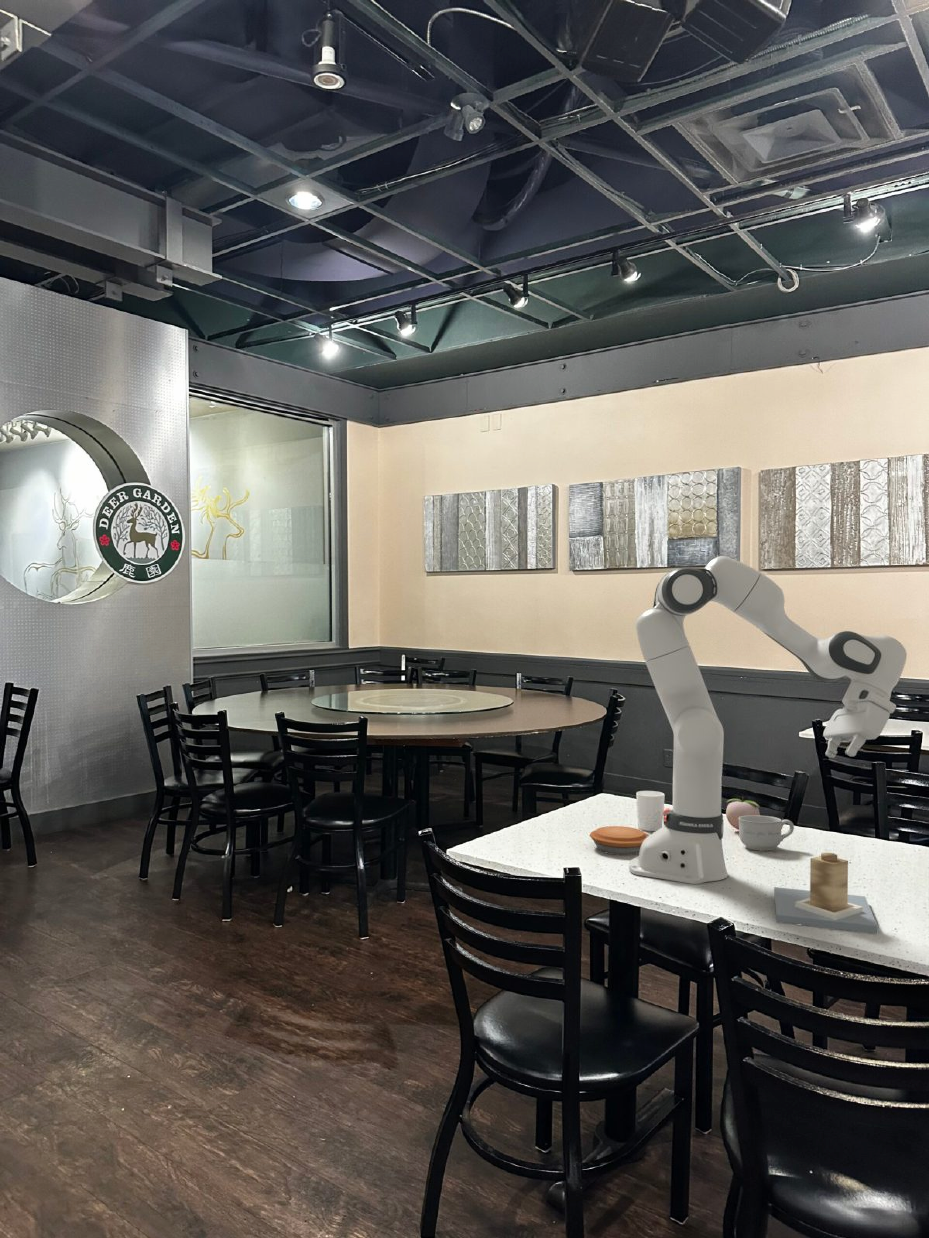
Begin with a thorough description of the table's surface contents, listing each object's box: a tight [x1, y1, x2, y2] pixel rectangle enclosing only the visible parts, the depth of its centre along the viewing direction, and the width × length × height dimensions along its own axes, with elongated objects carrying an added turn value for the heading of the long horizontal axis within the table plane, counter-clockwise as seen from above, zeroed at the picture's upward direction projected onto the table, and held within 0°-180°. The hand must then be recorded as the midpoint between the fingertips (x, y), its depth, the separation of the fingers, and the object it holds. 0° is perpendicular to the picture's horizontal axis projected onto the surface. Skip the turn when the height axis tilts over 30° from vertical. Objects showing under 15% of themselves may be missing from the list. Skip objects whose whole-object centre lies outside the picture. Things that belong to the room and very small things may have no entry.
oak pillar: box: [809, 852, 849, 913], centre depth 171 cm, size 5×5×11 cm
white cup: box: [635, 790, 666, 832], centre depth 243 cm, size 8×8×10 cm
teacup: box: [738, 815, 795, 852], centre depth 222 cm, size 14×11×8 cm
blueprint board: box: [773, 886, 878, 935], centre depth 173 cm, size 18×18×2 cm
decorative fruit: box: [725, 796, 761, 831], centre depth 239 cm, size 9×8×10 cm
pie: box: [589, 825, 650, 856], centre depth 221 cm, size 16×16×5 cm
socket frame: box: [795, 898, 863, 920], centre depth 171 cm, size 9×9×1 cm
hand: (839, 755), depth 192 cm, fingers open, 8 cm apart
